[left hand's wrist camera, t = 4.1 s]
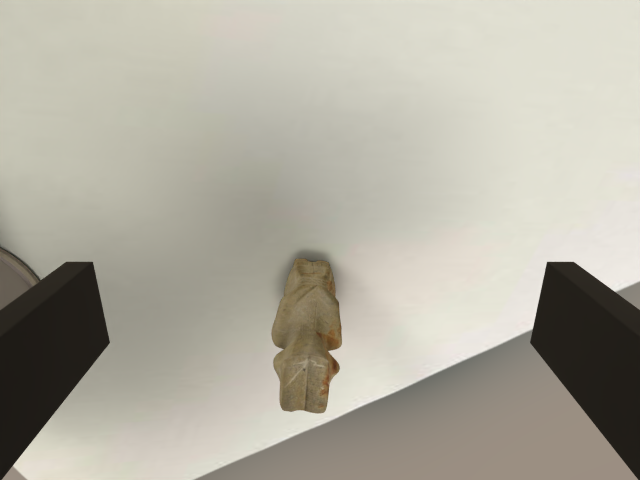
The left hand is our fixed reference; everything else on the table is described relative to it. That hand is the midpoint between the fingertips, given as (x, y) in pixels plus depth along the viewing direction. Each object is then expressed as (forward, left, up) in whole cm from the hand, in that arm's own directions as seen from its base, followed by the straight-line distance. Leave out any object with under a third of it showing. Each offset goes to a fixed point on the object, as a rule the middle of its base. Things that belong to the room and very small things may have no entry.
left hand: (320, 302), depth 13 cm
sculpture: (-8, -11, -28) cm, 31 cm away
